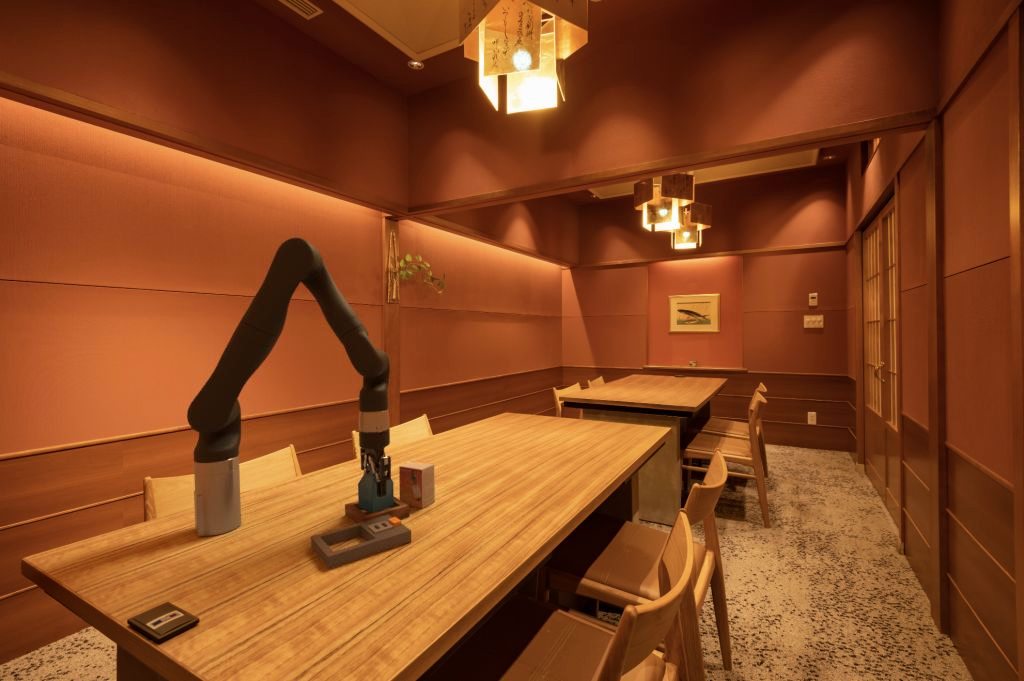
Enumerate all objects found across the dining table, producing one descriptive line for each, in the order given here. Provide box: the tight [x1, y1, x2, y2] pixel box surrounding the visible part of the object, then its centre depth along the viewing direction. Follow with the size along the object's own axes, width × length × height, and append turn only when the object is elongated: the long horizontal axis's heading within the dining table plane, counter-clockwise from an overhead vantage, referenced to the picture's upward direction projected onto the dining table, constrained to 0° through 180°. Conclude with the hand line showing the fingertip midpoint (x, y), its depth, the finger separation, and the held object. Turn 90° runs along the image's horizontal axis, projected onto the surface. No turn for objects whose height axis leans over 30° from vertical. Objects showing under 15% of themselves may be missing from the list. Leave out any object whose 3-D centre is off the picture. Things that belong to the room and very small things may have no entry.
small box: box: [398, 460, 436, 510], centre depth 126 cm, size 8×6×10 cm
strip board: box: [310, 515, 412, 570], centre depth 102 cm, size 18×12×3 cm, turn 129°
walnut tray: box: [344, 496, 410, 524], centre depth 117 cm, size 12×12×3 cm
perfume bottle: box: [357, 462, 395, 513], centre depth 117 cm, size 6×6×12 cm
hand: (375, 491), depth 117 cm, fingers closed on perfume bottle, 7 cm apart
